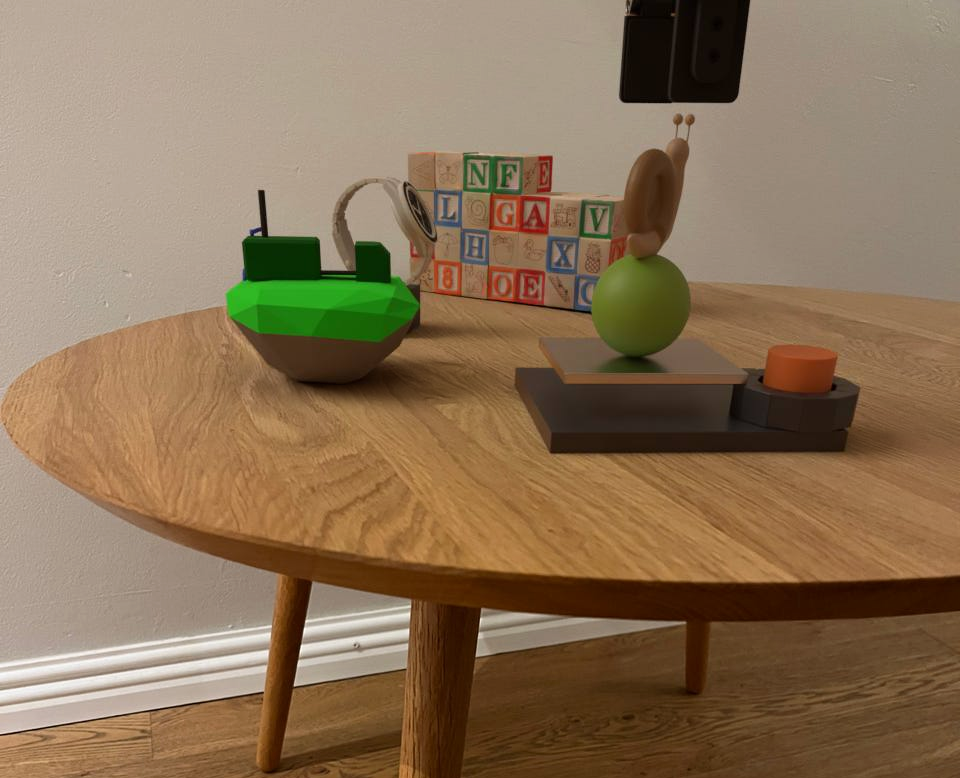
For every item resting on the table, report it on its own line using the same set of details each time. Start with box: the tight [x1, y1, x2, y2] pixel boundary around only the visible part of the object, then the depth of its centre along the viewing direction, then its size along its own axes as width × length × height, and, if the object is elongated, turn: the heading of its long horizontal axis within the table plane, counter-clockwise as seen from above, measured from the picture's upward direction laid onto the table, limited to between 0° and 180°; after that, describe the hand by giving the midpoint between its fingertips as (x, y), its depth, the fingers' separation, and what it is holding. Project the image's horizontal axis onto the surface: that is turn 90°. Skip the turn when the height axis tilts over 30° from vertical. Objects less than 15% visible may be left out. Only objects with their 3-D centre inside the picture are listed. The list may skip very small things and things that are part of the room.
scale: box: [514, 367, 861, 455], centre depth 54 cm, size 17×14×3 cm
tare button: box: [762, 344, 839, 393], centre depth 50 cm, size 4×4×2 cm
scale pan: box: [538, 336, 749, 385], centre depth 53 cm, size 10×9×1 cm
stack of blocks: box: [407, 150, 630, 313], centre depth 87 cm, size 21×6×12 cm, turn 59°
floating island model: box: [225, 189, 421, 385], centre depth 58 cm, size 12×12×11 cm
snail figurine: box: [590, 113, 696, 357], centre depth 50 cm, size 5×6×12 cm
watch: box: [331, 176, 437, 336], centre depth 72 cm, size 6×8×11 cm
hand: (672, 102), depth 47 cm, fingers open, 9 cm apart
